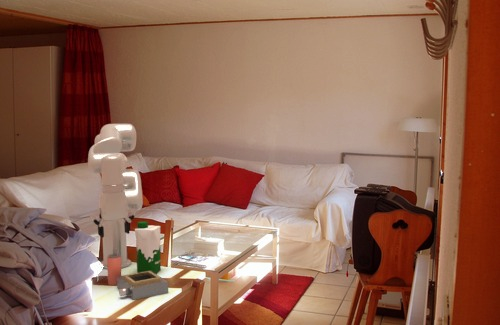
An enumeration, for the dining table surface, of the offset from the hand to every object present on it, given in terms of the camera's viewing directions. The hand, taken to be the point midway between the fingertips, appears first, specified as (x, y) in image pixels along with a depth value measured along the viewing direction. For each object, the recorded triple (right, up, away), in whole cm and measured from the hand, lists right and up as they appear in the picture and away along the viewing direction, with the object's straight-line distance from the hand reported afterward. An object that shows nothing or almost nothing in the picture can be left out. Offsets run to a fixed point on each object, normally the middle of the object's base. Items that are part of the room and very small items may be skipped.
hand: (114, 234), depth 202 cm
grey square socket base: (+10, -19, -7) cm, 23 cm away
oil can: (0, -18, +2) cm, 18 cm away
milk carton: (+10, -17, +16) cm, 25 cm away
